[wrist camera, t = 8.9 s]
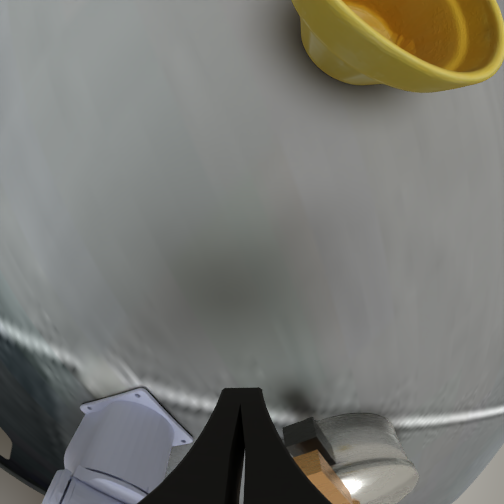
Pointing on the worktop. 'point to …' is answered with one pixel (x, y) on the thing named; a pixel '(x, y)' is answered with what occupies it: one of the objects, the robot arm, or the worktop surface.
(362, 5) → the plant pot
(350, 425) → the cooker pot
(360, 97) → the worktop surface
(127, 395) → the robot arm
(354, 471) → the lid
